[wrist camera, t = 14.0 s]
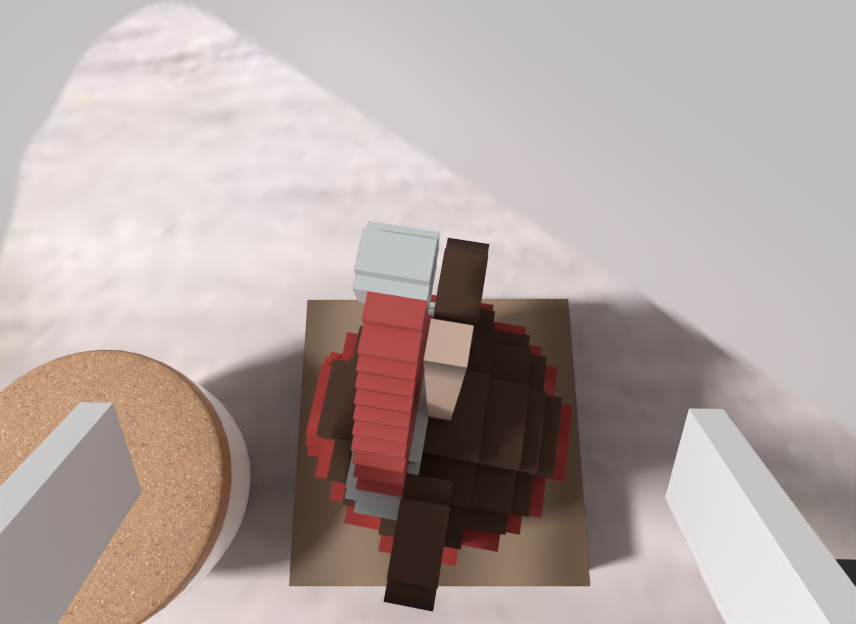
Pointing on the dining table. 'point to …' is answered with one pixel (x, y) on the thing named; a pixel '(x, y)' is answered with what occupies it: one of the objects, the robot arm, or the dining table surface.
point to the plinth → (511, 566)
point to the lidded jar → (141, 475)
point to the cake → (434, 411)
